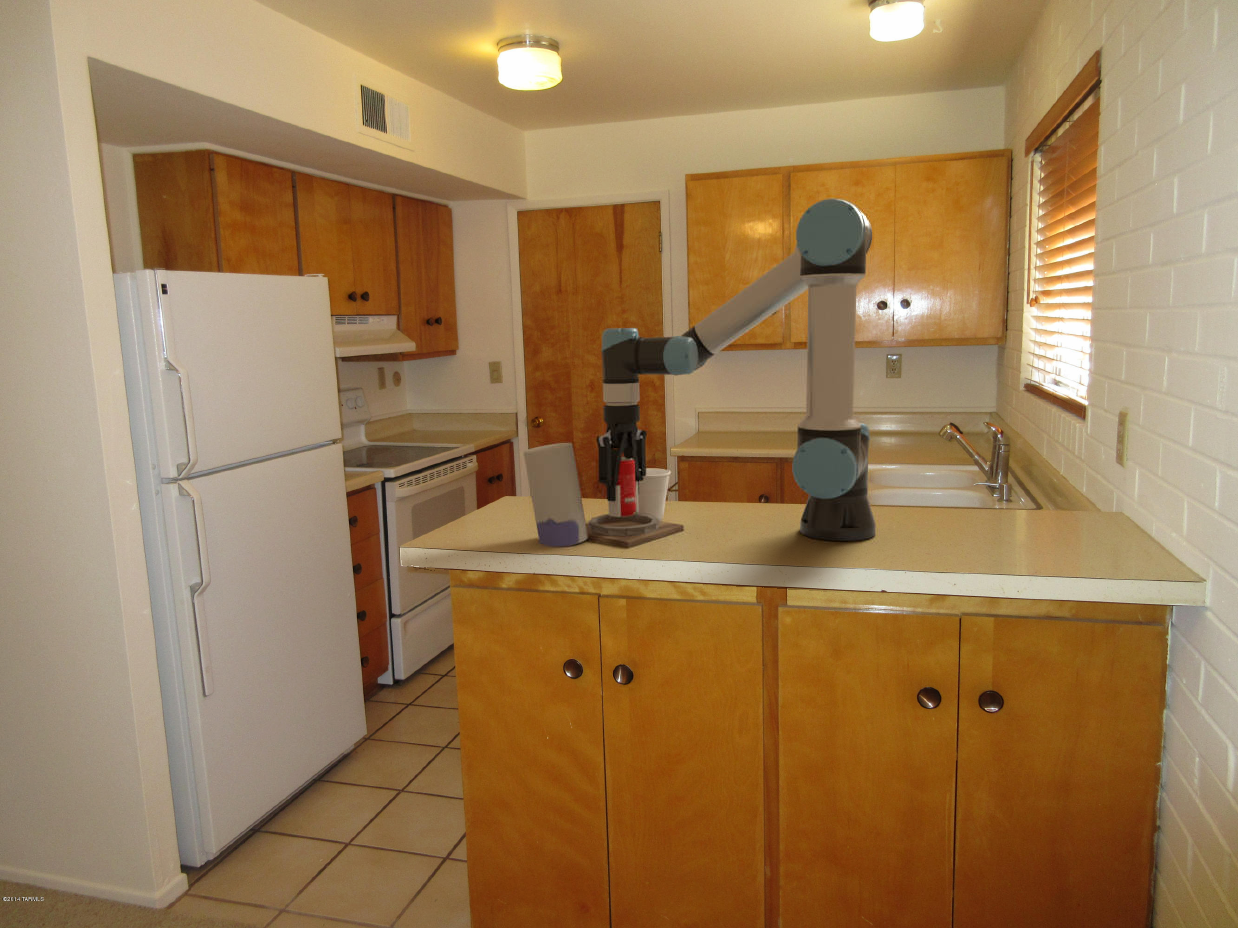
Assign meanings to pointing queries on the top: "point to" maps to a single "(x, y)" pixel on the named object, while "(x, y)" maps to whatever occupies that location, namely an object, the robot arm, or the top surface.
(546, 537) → the container
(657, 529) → the collar board
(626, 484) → the beverage can
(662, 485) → the cup
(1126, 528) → the top surface
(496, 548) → the top surface
